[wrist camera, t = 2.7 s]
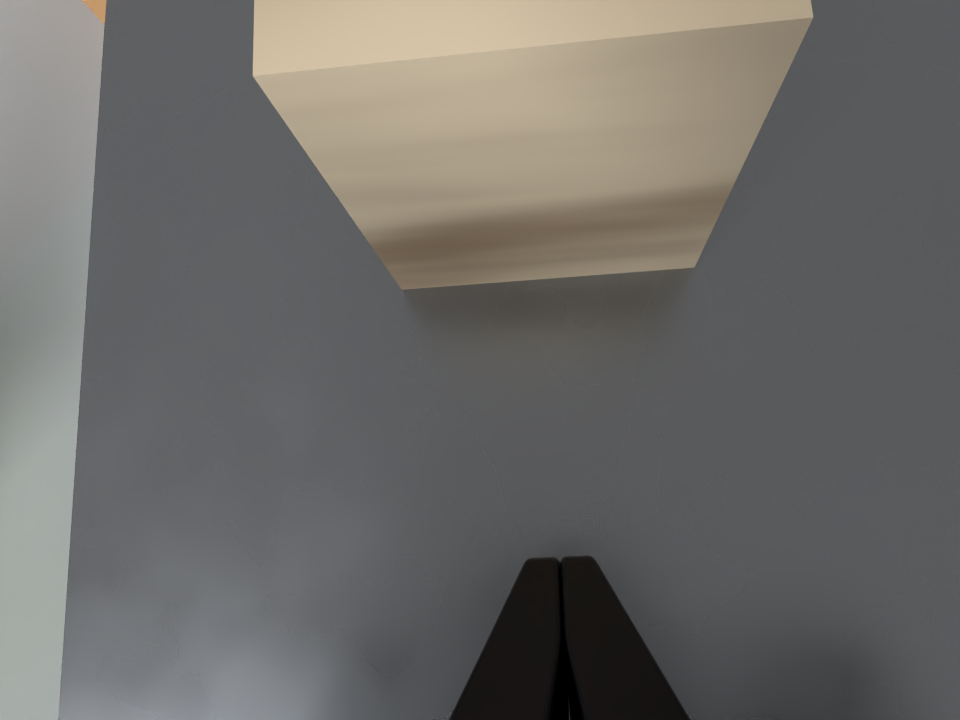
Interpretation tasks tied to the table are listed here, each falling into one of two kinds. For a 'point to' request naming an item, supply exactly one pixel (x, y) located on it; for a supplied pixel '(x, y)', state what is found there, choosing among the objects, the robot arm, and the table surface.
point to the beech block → (527, 124)
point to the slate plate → (517, 410)
